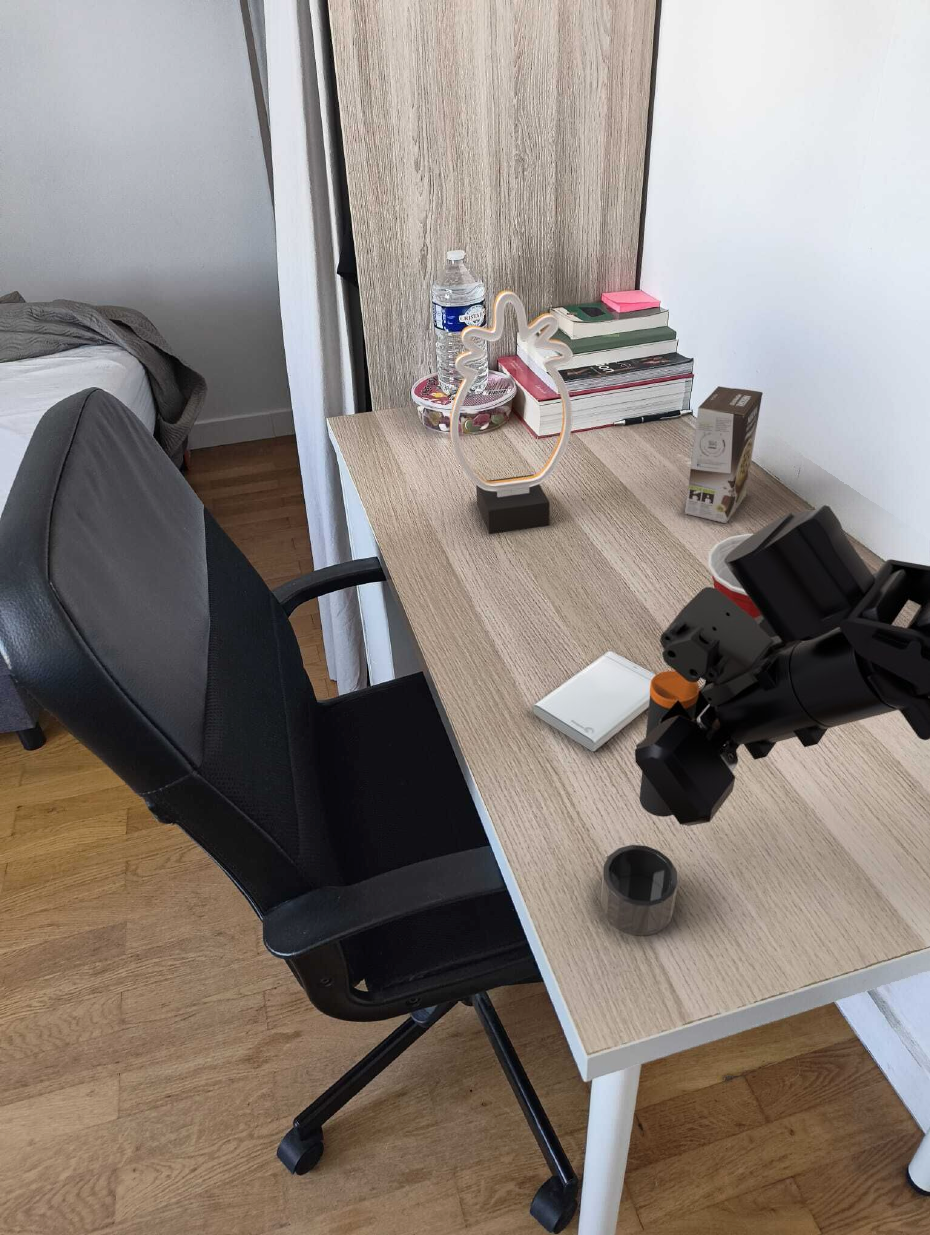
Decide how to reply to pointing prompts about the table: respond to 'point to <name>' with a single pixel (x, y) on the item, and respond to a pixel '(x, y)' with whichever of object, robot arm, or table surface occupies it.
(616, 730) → the hard drive
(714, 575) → the plastic cup
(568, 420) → the lamp
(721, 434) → the coffee box
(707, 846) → the table surface
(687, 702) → the orange-capped black cylinder
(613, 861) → the socket
